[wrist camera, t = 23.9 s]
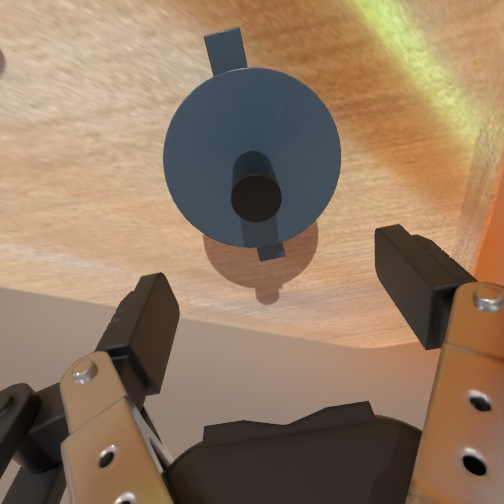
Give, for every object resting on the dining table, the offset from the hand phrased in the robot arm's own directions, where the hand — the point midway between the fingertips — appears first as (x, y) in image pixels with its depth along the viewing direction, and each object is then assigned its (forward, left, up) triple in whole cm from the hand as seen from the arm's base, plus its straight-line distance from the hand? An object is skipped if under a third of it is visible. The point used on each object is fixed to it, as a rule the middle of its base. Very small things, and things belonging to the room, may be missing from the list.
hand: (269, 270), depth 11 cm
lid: (0, 0, -14) cm, 14 cm away
